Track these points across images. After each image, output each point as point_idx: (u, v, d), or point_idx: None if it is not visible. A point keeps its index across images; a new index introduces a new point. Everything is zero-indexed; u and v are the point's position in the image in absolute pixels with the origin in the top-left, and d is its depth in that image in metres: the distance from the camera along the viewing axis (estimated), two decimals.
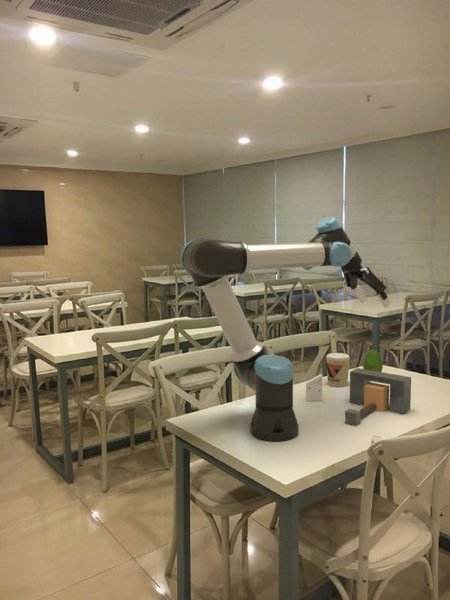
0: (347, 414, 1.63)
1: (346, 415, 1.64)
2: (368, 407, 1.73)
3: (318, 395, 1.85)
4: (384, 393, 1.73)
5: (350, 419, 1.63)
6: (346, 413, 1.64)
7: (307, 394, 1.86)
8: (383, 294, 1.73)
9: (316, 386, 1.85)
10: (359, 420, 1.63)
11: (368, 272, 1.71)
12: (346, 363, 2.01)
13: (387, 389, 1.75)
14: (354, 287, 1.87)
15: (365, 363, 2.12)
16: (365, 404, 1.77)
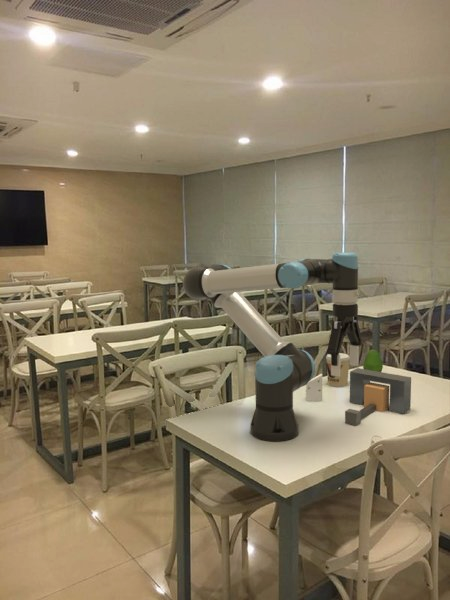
0: (347, 414, 1.63)
1: (346, 415, 1.64)
2: (368, 407, 1.73)
3: (318, 395, 1.85)
4: (384, 393, 1.73)
5: (350, 419, 1.63)
6: (346, 413, 1.64)
7: (307, 394, 1.86)
8: (332, 359, 1.50)
9: (316, 386, 1.85)
10: (359, 420, 1.63)
11: (336, 327, 1.49)
12: (346, 363, 2.01)
13: (387, 389, 1.75)
14: (353, 344, 1.62)
15: (365, 363, 2.12)
16: (365, 404, 1.77)
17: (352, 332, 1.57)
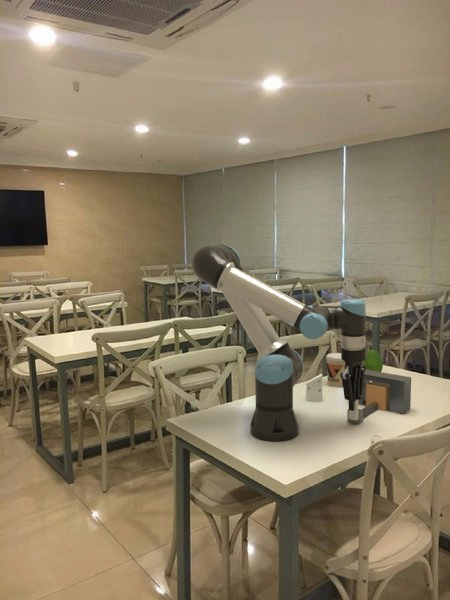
0: None
1: (348, 414, 1.65)
2: (370, 405, 1.74)
3: (318, 395, 1.85)
4: (386, 392, 1.74)
5: None
6: (348, 412, 1.65)
7: (307, 394, 1.86)
8: (350, 404, 1.61)
9: (317, 386, 1.85)
10: (361, 419, 1.64)
11: (345, 378, 1.57)
12: None
13: (389, 388, 1.76)
14: None
15: (365, 363, 2.12)
16: (367, 403, 1.79)
17: (357, 378, 1.61)
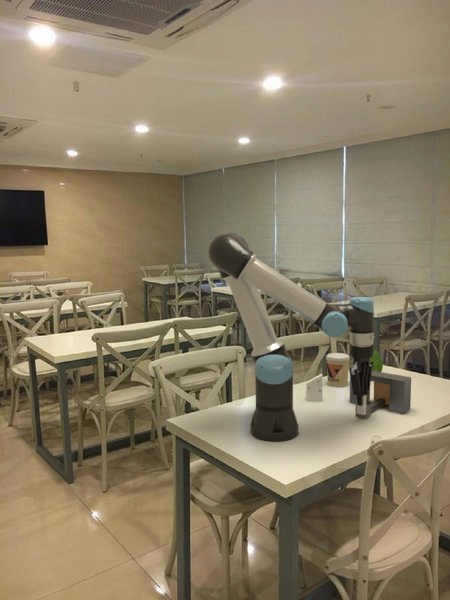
0: None
1: (356, 408, 1.69)
2: (378, 401, 1.78)
3: (318, 395, 1.85)
4: None
5: None
6: (356, 407, 1.69)
7: (307, 394, 1.86)
8: (358, 399, 1.66)
9: (317, 386, 1.85)
10: (369, 413, 1.69)
11: (354, 374, 1.61)
12: (346, 363, 2.01)
13: None
14: None
15: None
16: (375, 398, 1.83)
17: (365, 374, 1.66)
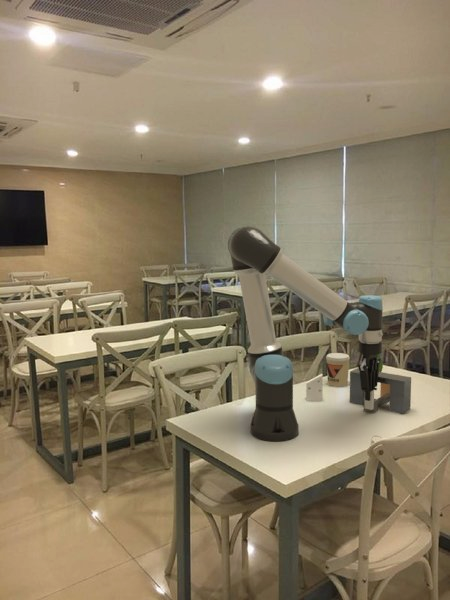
0: None
1: (364, 403, 1.74)
2: (385, 396, 1.83)
3: (318, 395, 1.85)
4: None
5: None
6: (364, 402, 1.74)
7: (307, 394, 1.86)
8: (366, 394, 1.71)
9: (317, 386, 1.85)
10: (376, 408, 1.74)
11: (362, 370, 1.67)
12: (346, 363, 2.01)
13: None
14: None
15: None
16: (381, 394, 1.88)
17: (373, 370, 1.71)
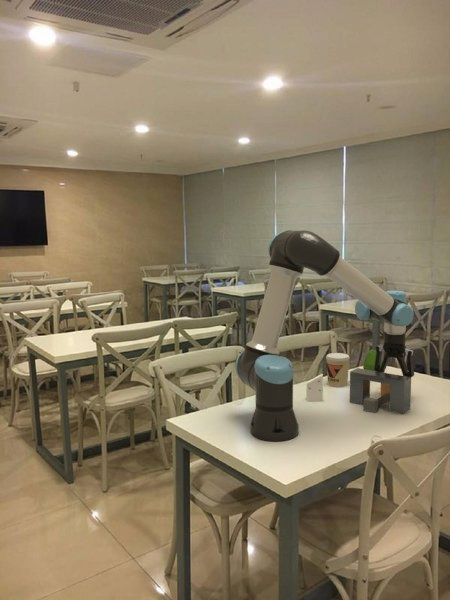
0: (365, 402, 1.74)
1: (364, 403, 1.75)
2: (385, 396, 1.83)
3: (318, 395, 1.85)
4: None
5: (368, 406, 1.74)
6: (364, 401, 1.75)
7: (307, 394, 1.86)
8: None
9: (317, 386, 1.85)
10: (376, 408, 1.74)
11: (411, 355, 1.83)
12: (346, 363, 2.01)
13: None
14: None
15: (365, 363, 2.12)
16: (382, 393, 1.88)
17: (389, 357, 1.89)
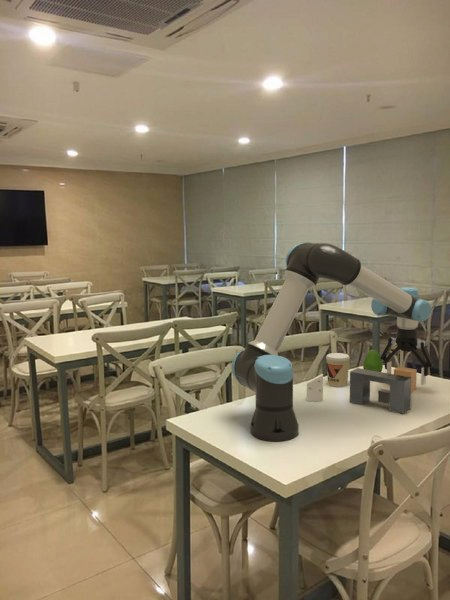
0: (380, 393, 1.83)
1: (379, 394, 1.83)
2: None
3: (319, 395, 1.85)
4: (412, 376, 1.93)
5: (383, 397, 1.83)
6: (379, 393, 1.83)
7: (308, 394, 1.86)
8: (427, 370, 1.91)
9: (317, 386, 1.85)
10: None
11: (424, 346, 1.91)
12: (346, 363, 2.01)
13: (414, 372, 1.94)
14: (388, 361, 2.01)
15: (365, 363, 2.12)
16: None
17: None
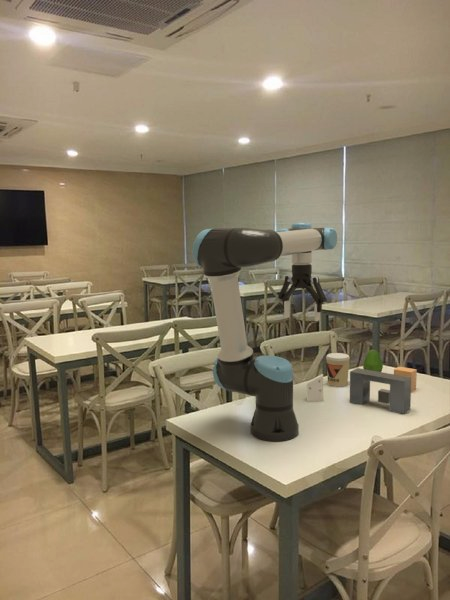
0: (380, 393, 1.83)
1: (379, 394, 1.83)
2: None
3: (319, 395, 1.85)
4: (412, 376, 1.93)
5: (383, 397, 1.83)
6: (379, 393, 1.83)
7: (308, 394, 1.86)
8: (320, 306, 1.88)
9: (317, 386, 1.85)
10: None
11: (317, 281, 1.88)
12: (346, 363, 2.01)
13: (414, 372, 1.94)
14: (285, 300, 1.98)
15: (365, 363, 2.12)
16: None
17: (295, 288, 1.95)
